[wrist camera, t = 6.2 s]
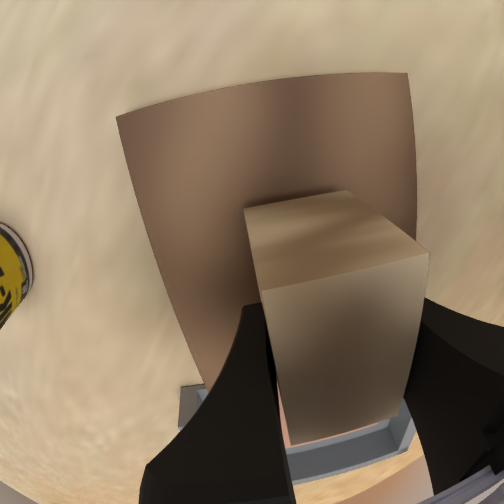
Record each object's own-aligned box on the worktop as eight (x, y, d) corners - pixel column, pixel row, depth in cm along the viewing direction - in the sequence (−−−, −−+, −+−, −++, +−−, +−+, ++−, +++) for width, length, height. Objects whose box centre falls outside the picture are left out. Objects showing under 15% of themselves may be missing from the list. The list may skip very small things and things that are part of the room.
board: (388, 75, 11) (407, 73, 10) (392, 332, 17) (403, 349, 16) (128, 115, 11) (115, 116, 10) (209, 374, 17) (209, 395, 16)
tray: (417, 332, 18) (440, 363, 15) (394, 425, 22) (406, 451, 20) (181, 387, 17) (177, 427, 15) (226, 465, 22) (227, 494, 20)
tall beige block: (347, 190, 10) (429, 252, 6) (351, 326, 13) (397, 415, 8) (243, 208, 10) (261, 290, 6) (269, 344, 13) (290, 445, 8)
